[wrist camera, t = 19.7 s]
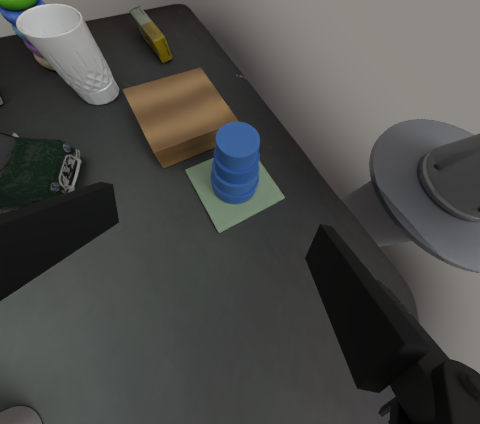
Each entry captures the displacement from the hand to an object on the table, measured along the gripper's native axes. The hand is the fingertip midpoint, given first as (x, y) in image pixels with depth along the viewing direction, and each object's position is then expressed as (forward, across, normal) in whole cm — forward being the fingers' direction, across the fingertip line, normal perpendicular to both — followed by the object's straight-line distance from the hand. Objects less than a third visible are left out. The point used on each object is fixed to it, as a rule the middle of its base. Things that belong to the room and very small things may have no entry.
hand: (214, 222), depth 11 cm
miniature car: (+13, -31, -7) cm, 35 cm away
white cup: (+28, -29, +7) cm, 40 cm away
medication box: (+39, -24, +18) cm, 49 cm away
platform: (+25, -11, +5) cm, 28 cm away
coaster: (+18, 0, -3) cm, 18 cm away
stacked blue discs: (+17, 0, -2) cm, 17 cm away
